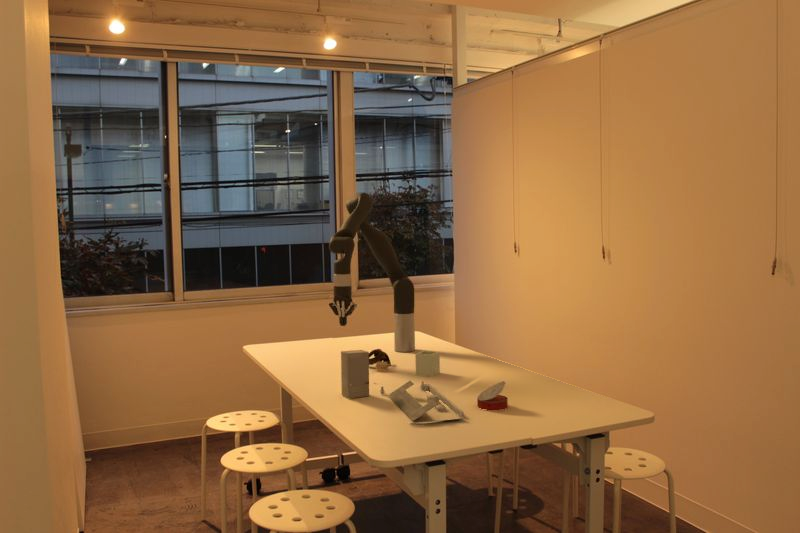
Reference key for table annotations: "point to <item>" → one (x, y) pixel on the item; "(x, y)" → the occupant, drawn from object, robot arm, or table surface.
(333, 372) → the table surface
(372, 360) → the pottery mug
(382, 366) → the oak block
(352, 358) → the skincare box
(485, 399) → the canned food
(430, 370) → the celadon pot
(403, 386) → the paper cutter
